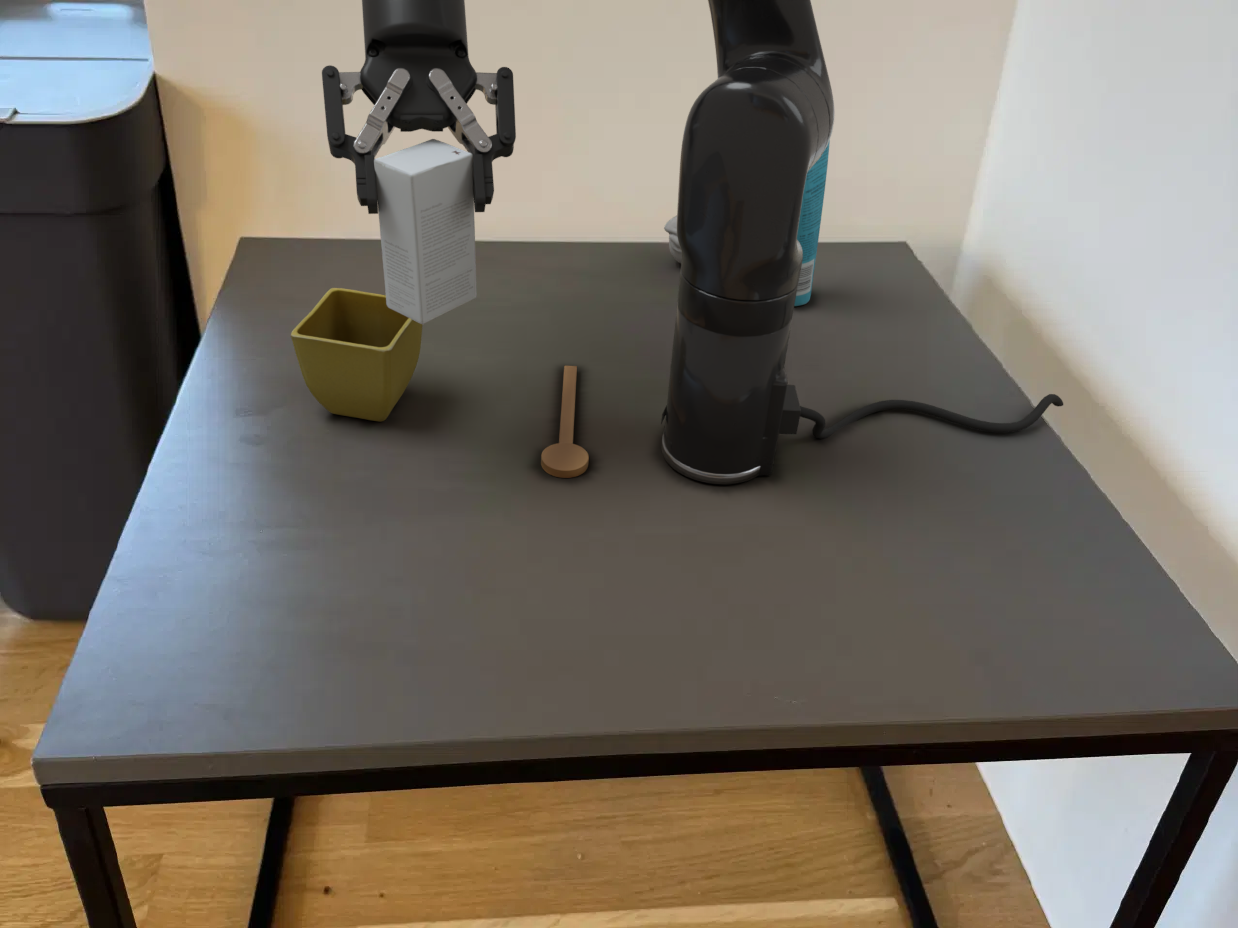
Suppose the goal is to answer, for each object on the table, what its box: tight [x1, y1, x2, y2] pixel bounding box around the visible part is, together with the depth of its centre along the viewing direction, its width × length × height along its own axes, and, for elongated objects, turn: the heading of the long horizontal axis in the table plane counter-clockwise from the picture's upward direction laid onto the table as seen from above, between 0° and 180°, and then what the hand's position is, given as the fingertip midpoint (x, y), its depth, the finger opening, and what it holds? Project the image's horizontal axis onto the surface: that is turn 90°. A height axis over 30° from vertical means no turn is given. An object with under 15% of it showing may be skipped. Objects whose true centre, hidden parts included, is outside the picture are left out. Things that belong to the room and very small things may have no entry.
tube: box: [794, 139, 831, 307], centre depth 115 cm, size 7×5×19 cm, turn 152°
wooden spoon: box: [540, 365, 590, 479], centre depth 99 cm, size 4×17×1 cm, turn 0°
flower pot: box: [290, 287, 424, 422], centre depth 96 cm, size 9×9×9 cm
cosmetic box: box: [374, 138, 478, 325], centre depth 83 cm, size 6×4×12 cm
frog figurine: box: [663, 214, 682, 264], centre depth 124 cm, size 6×7×7 cm
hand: (427, 209), depth 80 cm, fingers closed on cosmetic box, 7 cm apart
